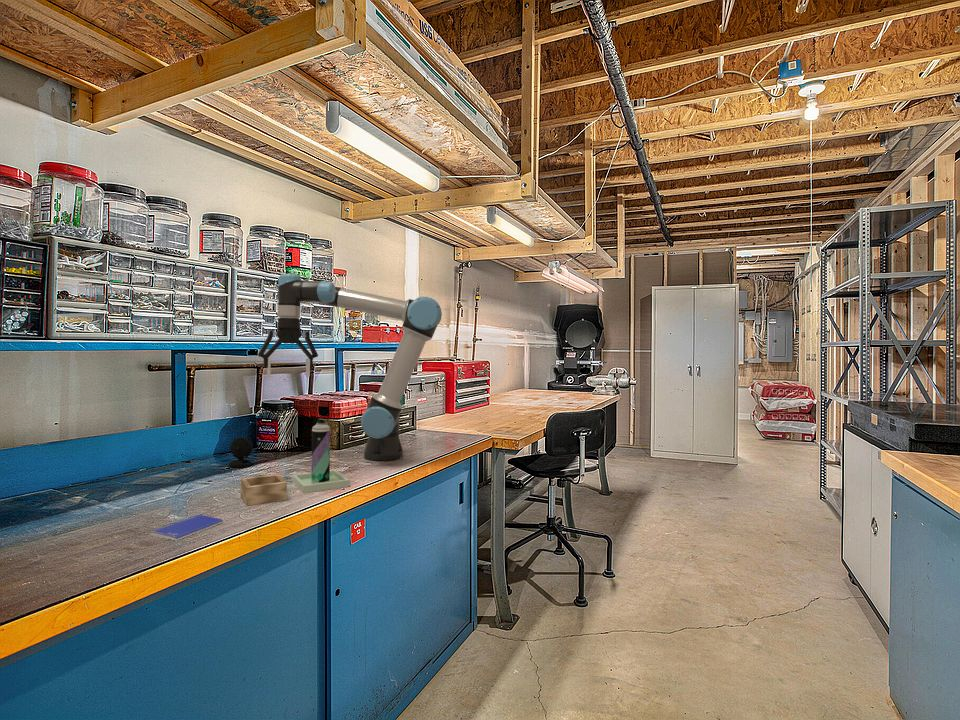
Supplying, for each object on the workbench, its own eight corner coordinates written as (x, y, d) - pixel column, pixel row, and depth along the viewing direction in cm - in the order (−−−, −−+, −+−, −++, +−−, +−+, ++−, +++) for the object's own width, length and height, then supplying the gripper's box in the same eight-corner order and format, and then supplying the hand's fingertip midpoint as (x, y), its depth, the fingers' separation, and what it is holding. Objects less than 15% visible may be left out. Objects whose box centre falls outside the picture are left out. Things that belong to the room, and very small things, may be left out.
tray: (335, 476, 169) (335, 469, 169) (349, 486, 157) (349, 479, 157) (292, 481, 161) (292, 475, 161) (303, 493, 150) (303, 486, 150)
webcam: (256, 464, 183) (258, 436, 182) (244, 468, 175) (246, 440, 175) (236, 462, 183) (238, 434, 183) (223, 466, 176) (225, 437, 176)
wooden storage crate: (278, 490, 152) (278, 474, 151) (286, 500, 143) (286, 482, 143) (240, 495, 146) (240, 478, 146) (246, 505, 137) (246, 487, 137)
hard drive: (176, 536, 113) (223, 519, 124) (150, 530, 116) (199, 514, 127) (176, 543, 113) (223, 525, 124) (150, 537, 116) (199, 520, 127)
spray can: (308, 481, 159) (308, 418, 159) (324, 478, 163) (325, 417, 162) (316, 485, 155) (317, 421, 155) (332, 482, 159) (333, 419, 159)
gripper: (321, 319, 192) (320, 375, 192) (249, 316, 178) (249, 376, 179) (327, 319, 185) (326, 376, 186) (253, 315, 172) (253, 378, 172)
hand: (288, 376), depth 182 cm, fingers open, 13 cm apart
